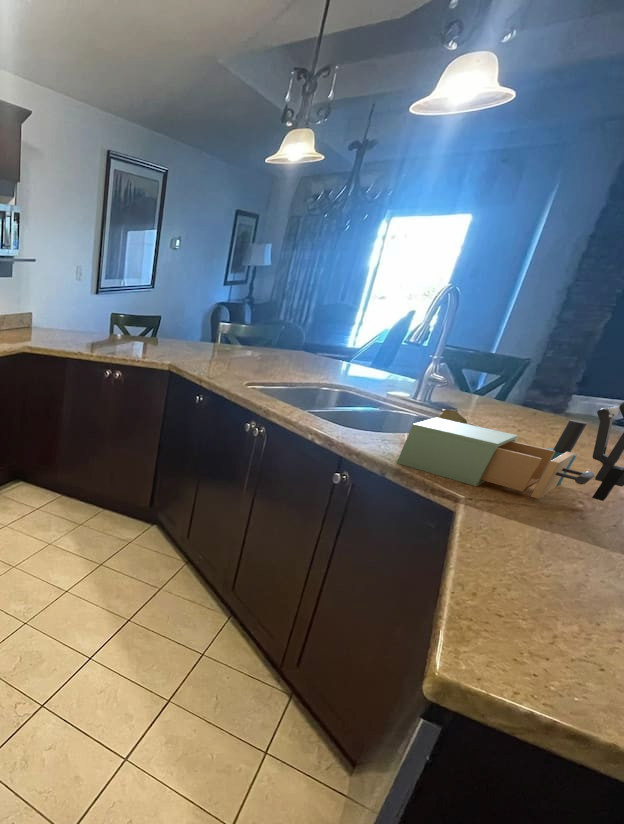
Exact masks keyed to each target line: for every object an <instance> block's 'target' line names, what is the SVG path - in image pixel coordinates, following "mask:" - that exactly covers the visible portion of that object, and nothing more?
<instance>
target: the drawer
mask: <svg viewBox="0 0 624 824" xmlns="http://www.w3.org/2000/svg"><path fill="white" fill-rule="evenodd" d="M571 452H572V451H571ZM571 452H565V453H564V454H562V455H560V456H558V457H557V458H555V459H553V460H552V461H550V460H551V458H552V456H553V455H554V453H555V451H554V450H549V449H546V448H545V447H540V446H535V445H532V444H527V443H523V442H519V441H515V442H514V441H510V442H508V443H506V444H503V445H501V446H499V447H497V449H496V451H495V453H494V455H493V457H492V459H491V460H490V462H489V464H488V466H487V468H486V470H485V472H484V474H483V476H482V478H481V480H484V481H485V482H487V483H490V484H493V485H494V484H495V485H499V486H500V487H501V486H502V487H504V488H508V489H512V490H515V491H519V492H524V491H526V490H528V489H529V488H531V487H533V486H534V485H535V484H536V486H535V488H534V489H533V491H532V493H531V495H530V497H531V498H534V499H540V498H542V497H543V496H545V495H546V494H548V493H549V492H551V491H552V490H554V489H555V488H556V487H557V486H558V485H557V483H558V482H559V480H560V478H561V477H564V479H568V480H572V481H574V482H575V483H576V484H577V485H585V484H587V483H588V482H590V481H591V480H592V479H594V478H595V473H594V472H593V471H591V470H587V471H584V472H582V471H578V470H574V469H571V468H569V469H566V468H567V466H568V465H569V463H570V461H571V459H572V458H573V456H574V454H576V453H575V452H572V453H571ZM549 462H550V463H549ZM548 464H549V465H548ZM547 465H548V466H547ZM546 467H547V468H546ZM545 469H546V470H545ZM544 471H545V472H544ZM543 472H544V473H543ZM564 472H567V474H564ZM542 474H543V475H542ZM572 474H573V475H572ZM575 475H576V476H575ZM541 476H542V477H541ZM540 478H541V479H540ZM539 479H540V481H539Z"/></svg>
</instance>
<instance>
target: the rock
mask: <svg viewBox="0 0 624 824" xmlns="http://www.w3.org/2000/svg"><path fill="white" fill-rule="evenodd" d="M438 418H441V419H446V420H450V421H455V422H460V423H464V424H468V421H467V419H466V418H465V417H463V416H462V415H461V414H460V413H459V412H457V411H456V410H452V409H448V408H446V409H445V410H444V411H443V412H442V413H441V414H440V415H439V417H438Z"/></svg>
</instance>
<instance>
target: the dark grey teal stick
mask: <svg viewBox="0 0 624 824" xmlns="http://www.w3.org/2000/svg"><path fill="white" fill-rule="evenodd" d="M587 425H588V422H585V421H582V420H578V419H569V420H568V422H567V424H566V426H565V428H564V430H563V431H562V433H561V435H560V436H559V438H558V441H557V442H556V444H555V445H554V447H547V448H545V449H549V450H554V451H555V453H554V455H553V456H552V458H551V460H550V461H552V460H553V459H555V458H557V457H558V456H560V455H562V454H564V453H565V452H571V453H573V452H572V451H573V449H574V447H575V446H576V444H577V442H578V441H579V439H580V437H581V436H582V433H583V432H584V430H585V428H586V427H587ZM577 456H578V454H576V453H575V454H574V456H573V458H572V459H571V461H570V463H569V465H568V466H567V468H566V469H571V467H572V465H573V463H574V462H575V460H576V458H577ZM549 463H550V462H549ZM548 465H549V464H548ZM548 465H547V466H548ZM546 468H547V467H546ZM545 470H546V469H545ZM544 472H545V471H544ZM544 472H543V473H544ZM564 474H568V472H564ZM542 475H543V474H542ZM541 477H542V476H541ZM540 479H541V478H540ZM540 479H539V481H540ZM564 479H565V477H561V478H560V480H559V482H558V483H557V485H556V486H560V485H561V484H562V482H563V481H564ZM539 481H538V482H539ZM559 484H560V485H559Z"/></svg>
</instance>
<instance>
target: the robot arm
mask: <svg viewBox="0 0 624 824" xmlns="http://www.w3.org/2000/svg"><path fill="white" fill-rule="evenodd" d="M619 412H620V413H621V416H622V418H623V419H624V401H622V402H621V403H619V405H616V406H611V407H602V408H600V409H598V410H597V411H596V414H597V417H598V420H599V425H598V428H597V429H598V430H597V433H596V437H595V438H596V439H595V443H594V447H593V452H592V459H593V460H595V461H597V462H600V463H601V465H602V466H601V468H600V469H599V470H598V472H597V473H596V476H594V480H595V481H597V482H601V483H600V485H599V486H598V487H597V489H596V491H595V492H594V494H593V495H592V497H591V499H593V500H598V501H601V502H604V501H605V500H606V499H607V498H608V496H609V495H610V494H611V492H612V490H613V489H614V488H615V486H617V487H620V488H623V487H624V467H623V466H619V465H616V464H617V463H618V461H619V459H620V458H621V456H622V455H623V454H624V432H623V433H622V434H621V436H620V437H619V439H618V440H617V442H616V443H615V445H614V447H613V448H612V450H611V452H610V453H609V454H608V455H607V454H606V453H607V448H608V443H609V440H610V435H611V430H612V426H613V420H614V419H615V418H616V417H618V413H619Z"/></svg>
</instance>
